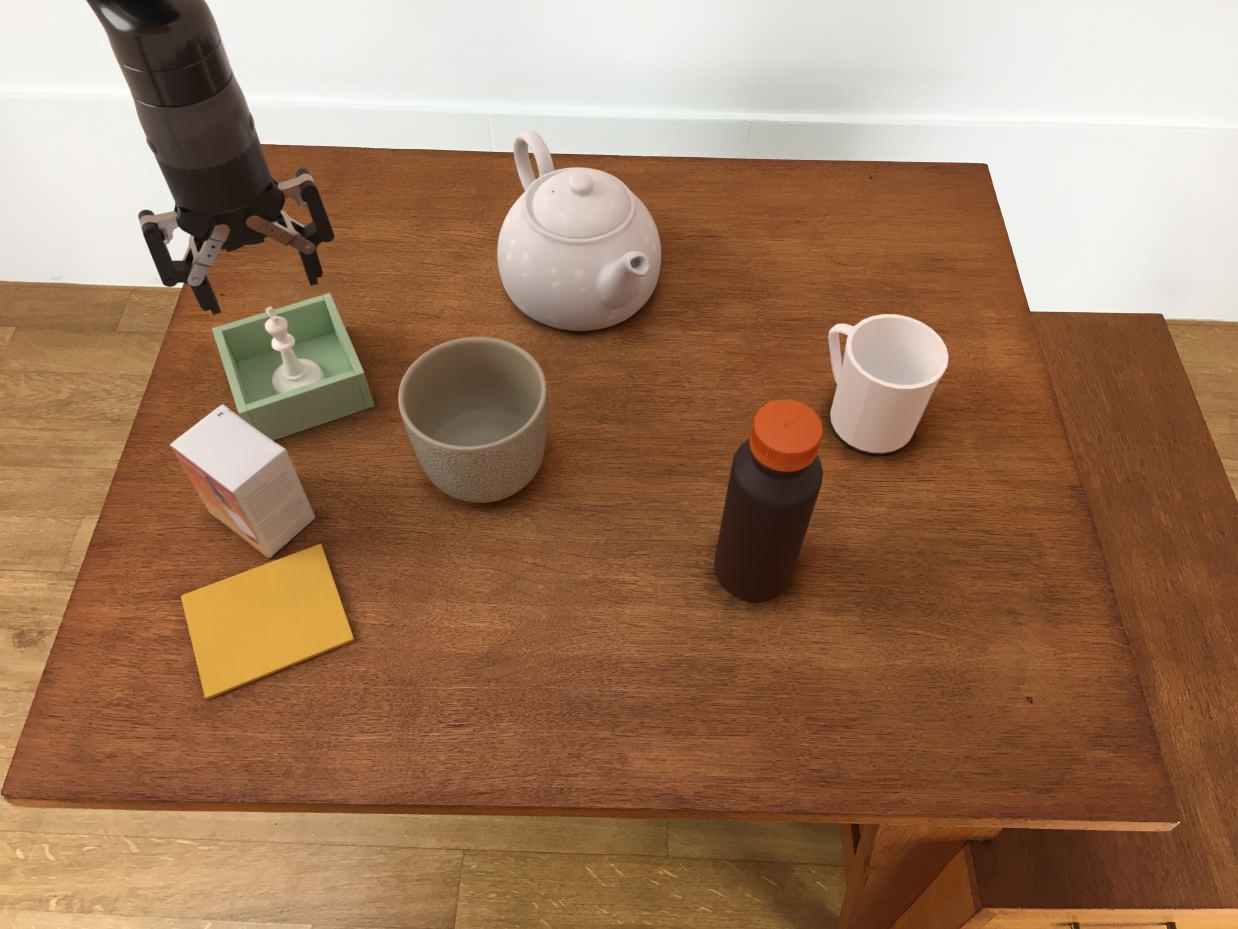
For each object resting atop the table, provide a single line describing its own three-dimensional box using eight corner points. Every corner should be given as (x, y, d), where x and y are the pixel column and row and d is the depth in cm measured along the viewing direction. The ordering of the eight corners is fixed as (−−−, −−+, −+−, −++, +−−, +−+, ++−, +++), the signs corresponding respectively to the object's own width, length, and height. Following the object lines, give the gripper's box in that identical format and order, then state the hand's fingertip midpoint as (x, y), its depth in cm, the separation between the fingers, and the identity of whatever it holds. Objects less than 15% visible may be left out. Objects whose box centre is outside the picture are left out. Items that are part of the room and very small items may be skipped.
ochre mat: (206, 700, 76) (204, 698, 76) (182, 597, 81) (180, 595, 81) (354, 640, 79) (353, 638, 79) (322, 545, 84) (321, 543, 84)
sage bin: (255, 447, 91) (238, 413, 86) (228, 362, 97) (211, 328, 93) (374, 406, 94) (364, 372, 89) (341, 327, 100) (330, 292, 96)
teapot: (681, 238, 108) (690, 133, 97) (643, 357, 98) (648, 254, 87) (522, 210, 111) (513, 104, 100) (468, 322, 100) (451, 218, 89)
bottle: (728, 524, 86) (756, 377, 70) (801, 550, 85) (848, 405, 68) (702, 587, 82) (726, 446, 66) (778, 614, 81) (822, 477, 65)
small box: (209, 514, 86) (165, 443, 78) (258, 473, 89) (221, 400, 80) (269, 562, 83) (231, 493, 75) (318, 518, 86) (286, 448, 77)
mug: (934, 418, 93) (966, 345, 85) (887, 476, 89) (916, 405, 81) (837, 364, 97) (859, 289, 89) (789, 416, 93) (807, 343, 85)
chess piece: (288, 408, 93) (257, 336, 84) (263, 378, 95) (231, 305, 87) (333, 384, 94) (307, 311, 86) (308, 355, 97) (281, 281, 89)
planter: (410, 427, 92) (389, 349, 83) (537, 403, 94) (530, 325, 85) (428, 534, 85) (407, 462, 76) (565, 506, 87) (560, 433, 78)
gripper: (285, 85, 76) (332, 245, 89) (95, 130, 72) (173, 290, 85) (310, 138, 72) (355, 297, 85) (110, 188, 68) (190, 347, 81)
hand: (264, 293), depth 85 cm, fingers open, 8 cm apart
